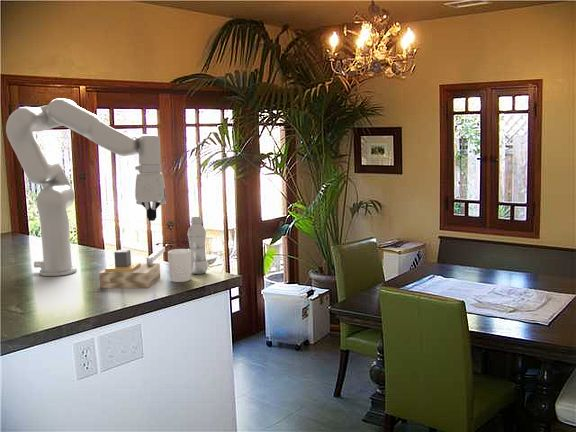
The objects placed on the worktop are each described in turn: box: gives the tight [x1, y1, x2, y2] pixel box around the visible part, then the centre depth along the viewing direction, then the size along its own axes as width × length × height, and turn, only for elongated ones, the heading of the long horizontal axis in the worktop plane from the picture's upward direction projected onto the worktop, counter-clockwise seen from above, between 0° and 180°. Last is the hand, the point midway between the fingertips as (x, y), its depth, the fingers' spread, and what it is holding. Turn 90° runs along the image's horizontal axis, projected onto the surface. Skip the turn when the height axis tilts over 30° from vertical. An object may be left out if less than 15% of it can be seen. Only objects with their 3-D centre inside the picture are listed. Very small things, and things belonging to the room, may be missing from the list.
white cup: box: [167, 248, 192, 283], centre depth 209 cm, size 8×8×10 cm
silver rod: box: [146, 246, 166, 266], centre depth 218 cm, size 21×2×3 cm, turn 179°
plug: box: [104, 249, 141, 272], centre depth 206 cm, size 9×9×9 cm
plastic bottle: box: [187, 216, 209, 275], centre depth 217 cm, size 6×7×20 cm
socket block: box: [98, 262, 161, 289], centre depth 207 cm, size 16×14×5 cm
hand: (151, 220), depth 223 cm, fingers closed
